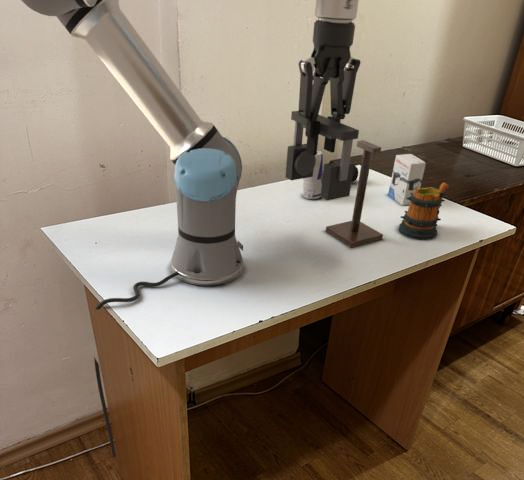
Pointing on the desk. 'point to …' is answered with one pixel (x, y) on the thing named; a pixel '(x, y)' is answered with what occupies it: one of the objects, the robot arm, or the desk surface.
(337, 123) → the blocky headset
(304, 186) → the energy drink
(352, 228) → the stand
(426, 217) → the mug
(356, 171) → the microphone
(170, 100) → the robot arm
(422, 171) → the ink box
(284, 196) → the desk surface
